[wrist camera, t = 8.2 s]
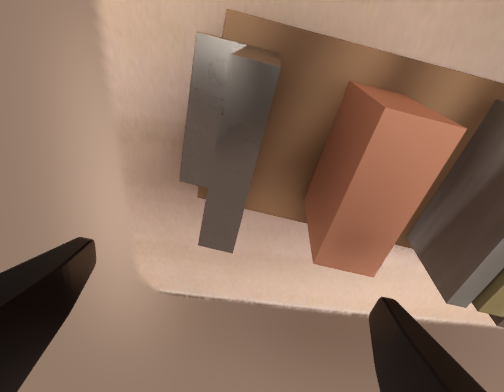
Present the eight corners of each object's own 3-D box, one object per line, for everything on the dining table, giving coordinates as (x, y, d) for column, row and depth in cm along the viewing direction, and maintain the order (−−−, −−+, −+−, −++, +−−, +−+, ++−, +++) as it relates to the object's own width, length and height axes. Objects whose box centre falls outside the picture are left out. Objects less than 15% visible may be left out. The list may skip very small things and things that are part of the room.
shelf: (565, 100, 18) (725, 141, 12) (446, 253, 25) (506, 334, 18) (228, 9, 17) (196, -2, 11) (199, 194, 24) (168, 257, 17)
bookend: (280, 53, 17) (280, 67, 11) (244, 192, 22) (232, 253, 16) (198, 31, 17) (155, 34, 11) (181, 177, 22) (145, 233, 16)
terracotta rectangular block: (404, 95, 18) (467, 128, 12) (348, 210, 23) (373, 277, 17) (349, 80, 18) (385, 107, 12) (304, 200, 22) (313, 263, 16)
